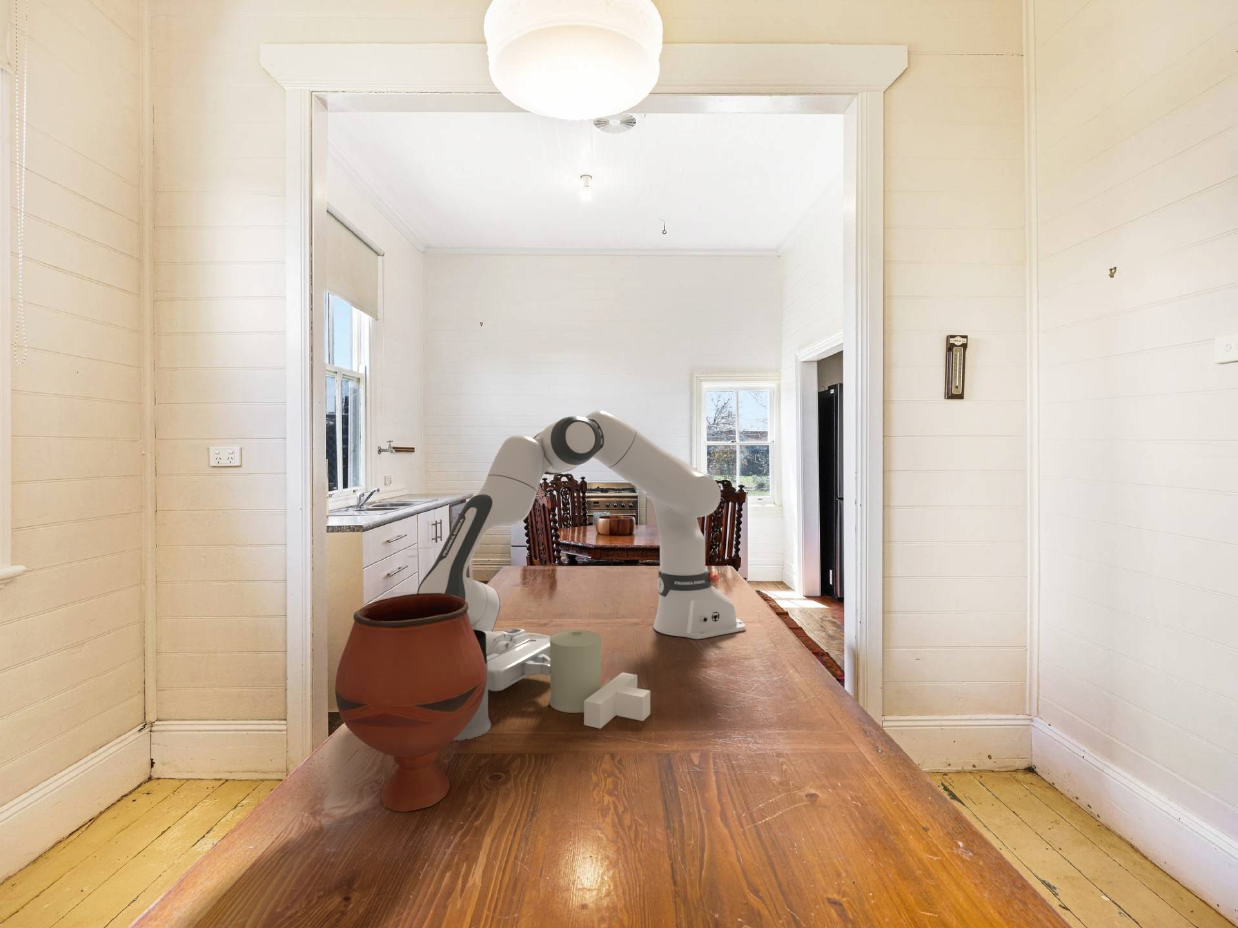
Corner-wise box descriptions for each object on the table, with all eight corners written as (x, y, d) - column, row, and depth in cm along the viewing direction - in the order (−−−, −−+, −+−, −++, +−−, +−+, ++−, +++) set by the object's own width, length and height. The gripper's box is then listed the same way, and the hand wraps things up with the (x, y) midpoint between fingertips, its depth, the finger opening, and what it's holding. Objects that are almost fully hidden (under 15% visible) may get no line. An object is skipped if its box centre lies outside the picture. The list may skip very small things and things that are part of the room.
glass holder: (500, 719, 105) (499, 630, 105) (456, 760, 91) (454, 658, 91) (453, 713, 107) (452, 626, 107) (403, 753, 94) (402, 653, 93)
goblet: (435, 743, 97) (432, 581, 96) (519, 786, 85) (517, 602, 84) (308, 798, 82) (304, 608, 81) (388, 859, 70) (384, 637, 69)
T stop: (584, 724, 103) (584, 700, 103) (622, 693, 115) (622, 672, 115) (628, 734, 99) (628, 709, 99) (662, 701, 112) (662, 679, 112)
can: (602, 691, 116) (602, 627, 116) (601, 713, 107) (600, 643, 107) (552, 691, 116) (552, 627, 116) (546, 713, 107) (546, 643, 107)
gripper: (455, 656, 110) (519, 669, 104) (523, 625, 129) (582, 635, 122) (455, 692, 111) (520, 707, 104) (523, 656, 129) (582, 667, 123)
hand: (554, 667), depth 113 cm, fingers closed
